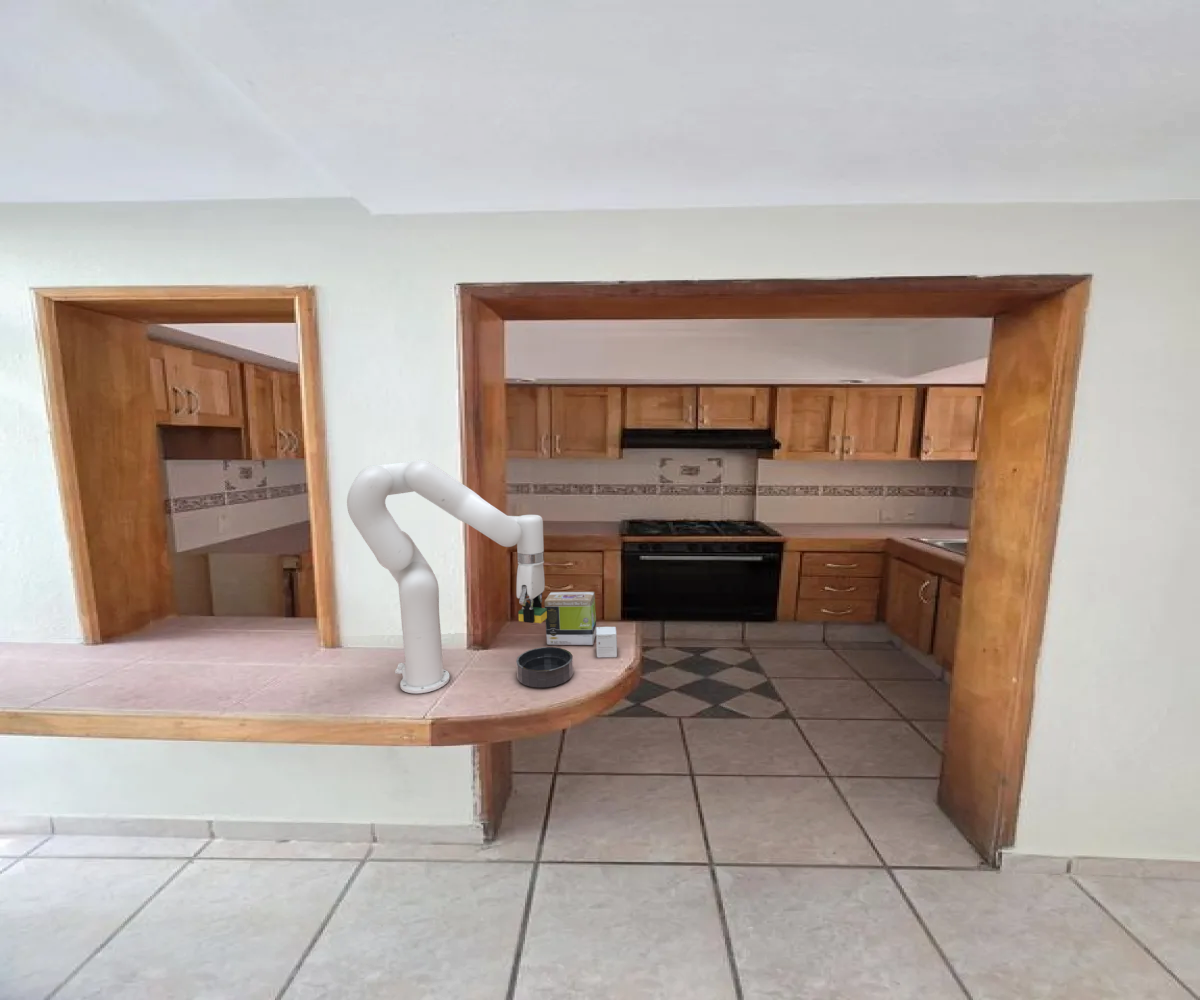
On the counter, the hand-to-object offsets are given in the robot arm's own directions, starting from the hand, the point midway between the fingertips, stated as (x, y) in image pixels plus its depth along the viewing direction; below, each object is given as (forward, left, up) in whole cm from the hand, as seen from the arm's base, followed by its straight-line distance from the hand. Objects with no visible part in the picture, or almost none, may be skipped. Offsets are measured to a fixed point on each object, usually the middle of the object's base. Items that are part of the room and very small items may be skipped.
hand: (532, 618), depth 145 cm
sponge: (0, 0, 0) cm, 0 cm away
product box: (+19, +10, -13) cm, 25 cm away
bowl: (+7, -8, -13) cm, 17 cm away
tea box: (+5, +17, -13) cm, 22 cm away
